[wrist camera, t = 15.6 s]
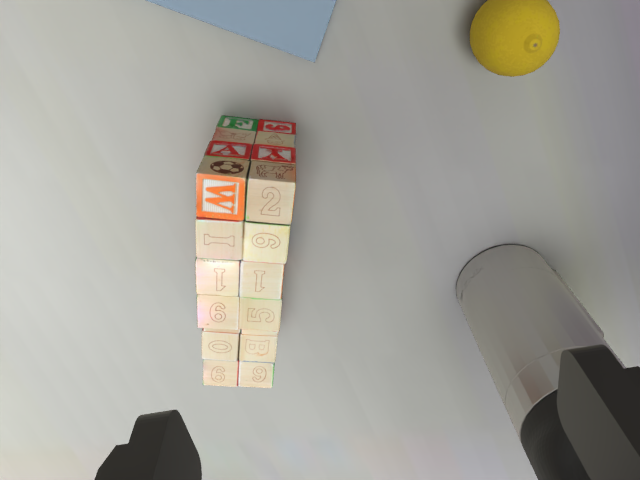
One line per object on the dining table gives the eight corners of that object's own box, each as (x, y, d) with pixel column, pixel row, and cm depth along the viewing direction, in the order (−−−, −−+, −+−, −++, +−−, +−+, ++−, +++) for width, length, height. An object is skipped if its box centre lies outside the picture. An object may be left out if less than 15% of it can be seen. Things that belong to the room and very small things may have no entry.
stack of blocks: (275, 321, 54) (270, 417, 43) (214, 317, 53) (194, 414, 42) (296, 120, 43) (297, 183, 32) (219, 112, 42) (194, 173, 32)
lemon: (445, 49, 40) (476, 74, 33) (478, -27, 38) (519, -18, 31) (507, 71, 41) (550, 100, 34) (544, -1, 39) (597, 14, 32)
